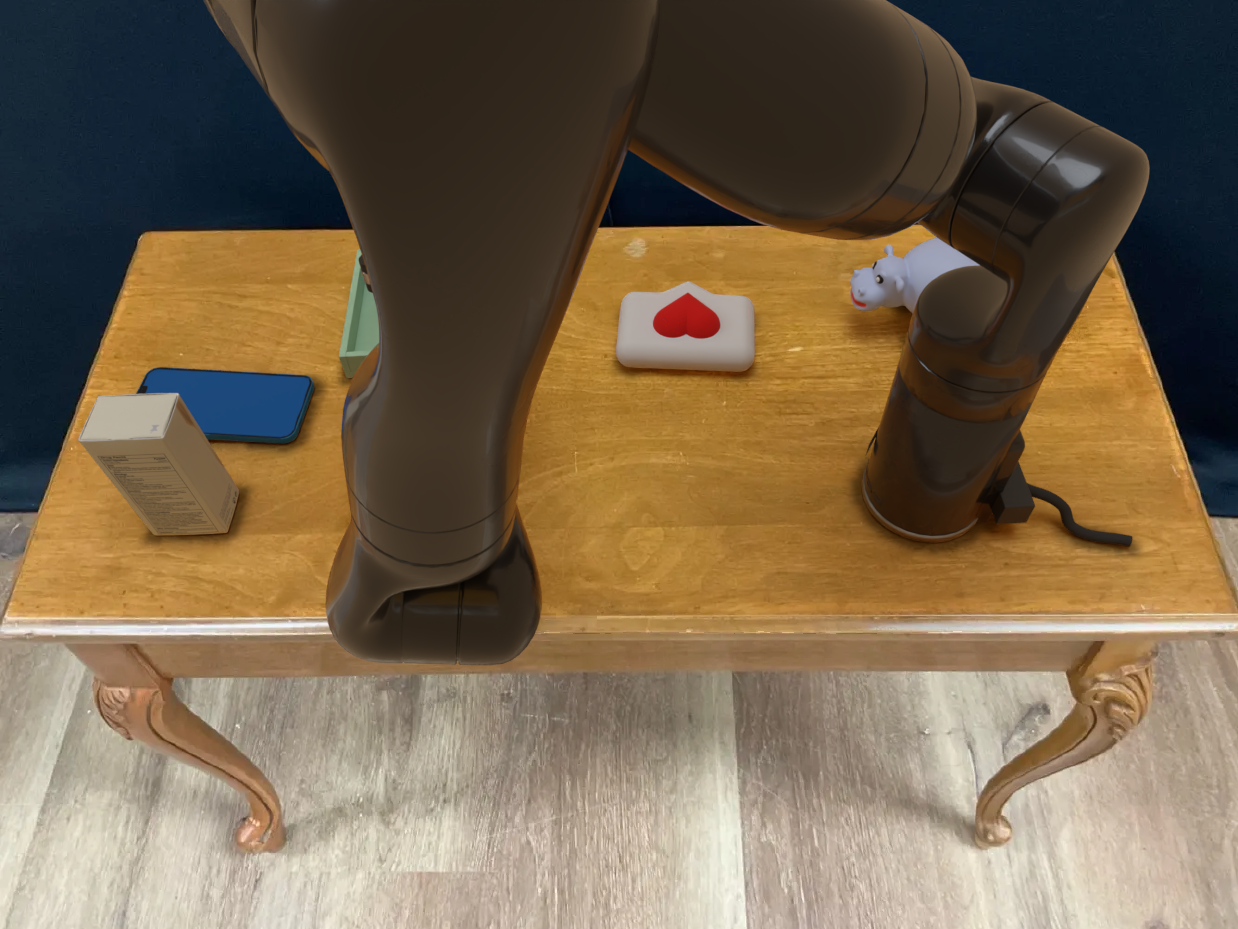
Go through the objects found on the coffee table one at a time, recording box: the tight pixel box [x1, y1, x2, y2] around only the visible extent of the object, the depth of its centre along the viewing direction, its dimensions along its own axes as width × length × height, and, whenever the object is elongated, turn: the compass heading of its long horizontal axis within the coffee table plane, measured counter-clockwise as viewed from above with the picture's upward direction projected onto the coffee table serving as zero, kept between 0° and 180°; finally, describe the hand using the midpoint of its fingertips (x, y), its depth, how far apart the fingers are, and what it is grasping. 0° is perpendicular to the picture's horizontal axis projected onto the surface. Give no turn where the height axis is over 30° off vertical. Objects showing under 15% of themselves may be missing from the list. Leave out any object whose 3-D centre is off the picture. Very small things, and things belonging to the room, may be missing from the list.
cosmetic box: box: [77, 393, 240, 536], centre depth 73 cm, size 6×4×12 cm
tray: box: [338, 248, 379, 379], centre depth 89 cm, size 11×14×3 cm
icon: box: [615, 280, 756, 373], centre depth 87 cm, size 12×4×10 cm
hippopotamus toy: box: [849, 237, 979, 314], centre depth 85 cm, size 11×15×10 cm
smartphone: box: [135, 366, 315, 445], centre depth 84 cm, size 7×1×15 cm
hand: (469, 182), depth 69 cm, fingers closed on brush, 3 cm apart
